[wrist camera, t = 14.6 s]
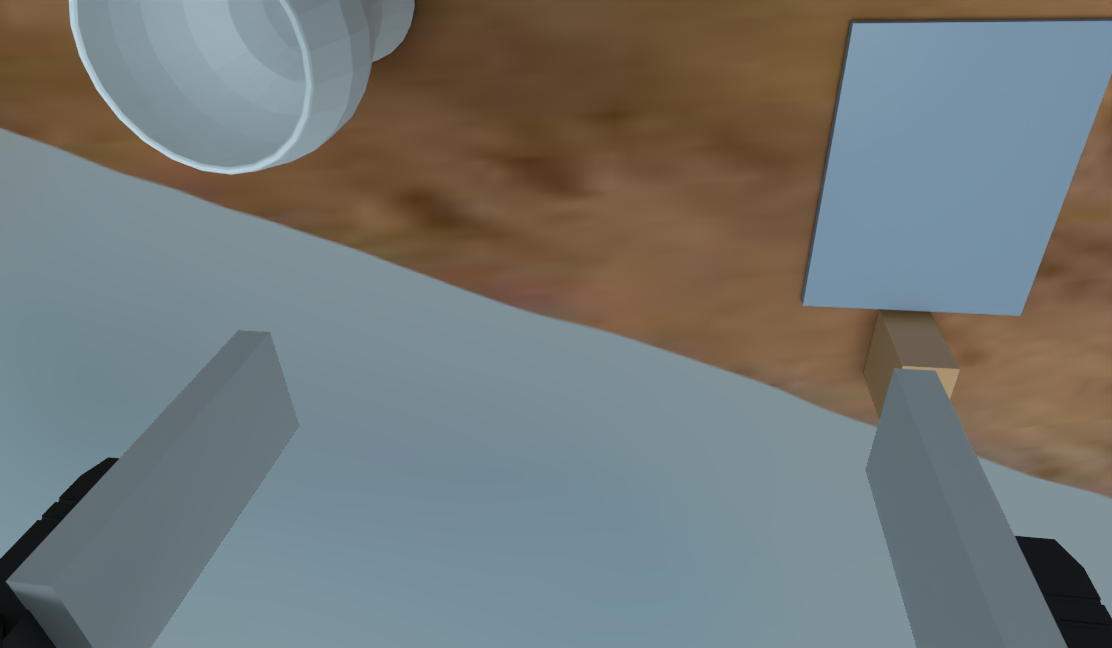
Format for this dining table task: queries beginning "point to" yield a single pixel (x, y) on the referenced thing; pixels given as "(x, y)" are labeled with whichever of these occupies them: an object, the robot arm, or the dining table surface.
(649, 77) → the dining table surface
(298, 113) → the cup
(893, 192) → the lid
